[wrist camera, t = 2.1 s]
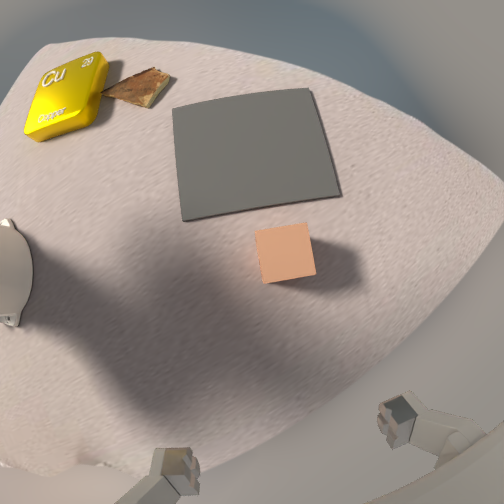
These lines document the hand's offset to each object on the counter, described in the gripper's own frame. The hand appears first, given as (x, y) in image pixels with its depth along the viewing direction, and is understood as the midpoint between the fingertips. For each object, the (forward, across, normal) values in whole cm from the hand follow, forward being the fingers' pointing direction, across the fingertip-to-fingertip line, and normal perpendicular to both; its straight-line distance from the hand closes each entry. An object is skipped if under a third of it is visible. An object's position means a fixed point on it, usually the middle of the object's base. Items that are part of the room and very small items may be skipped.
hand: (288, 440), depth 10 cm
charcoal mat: (+30, -4, -15) cm, 34 cm away
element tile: (+38, +25, -34) cm, 57 cm away
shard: (+36, +11, -29) cm, 47 cm away
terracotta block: (+26, -4, -1) cm, 26 cm away
